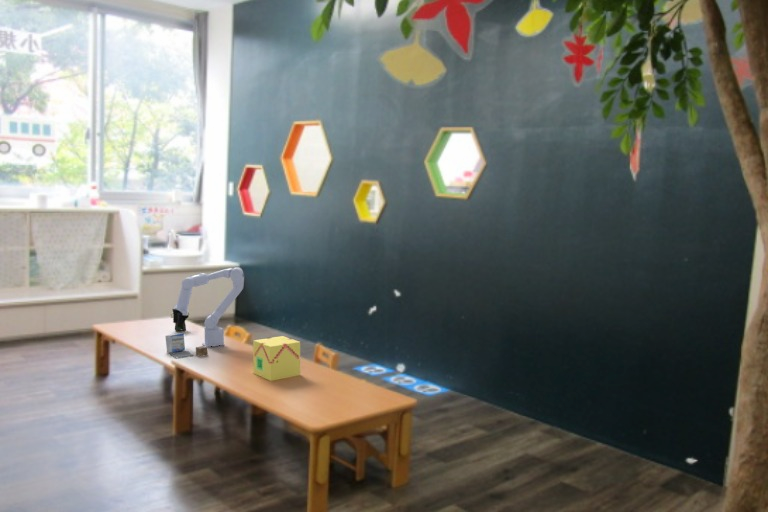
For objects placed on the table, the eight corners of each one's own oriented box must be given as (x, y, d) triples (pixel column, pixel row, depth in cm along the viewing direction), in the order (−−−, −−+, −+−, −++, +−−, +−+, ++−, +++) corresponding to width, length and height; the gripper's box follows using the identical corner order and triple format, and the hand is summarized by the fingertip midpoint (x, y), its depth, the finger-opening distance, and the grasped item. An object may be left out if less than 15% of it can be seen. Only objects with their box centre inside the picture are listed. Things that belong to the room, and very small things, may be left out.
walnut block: (203, 353, 321) (202, 345, 321) (207, 355, 319) (207, 347, 318) (196, 355, 319) (195, 347, 318) (200, 356, 316) (200, 348, 315)
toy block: (253, 373, 288) (253, 340, 286) (282, 367, 297) (282, 335, 296) (270, 381, 276) (270, 346, 275) (300, 375, 286) (300, 341, 285)
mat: (187, 351, 325) (187, 350, 325) (193, 356, 316) (193, 355, 316) (169, 353, 320) (169, 353, 320) (175, 358, 312) (175, 357, 312)
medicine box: (171, 353, 320) (170, 335, 320) (166, 352, 323) (165, 335, 322) (185, 350, 326) (183, 333, 326) (180, 349, 329) (178, 332, 329)
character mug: (173, 332, 368) (172, 310, 367) (169, 330, 374) (168, 308, 372) (191, 330, 375) (191, 308, 373) (187, 328, 380) (187, 306, 379)
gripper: (172, 295, 339) (166, 320, 340) (180, 302, 327) (173, 328, 328) (185, 297, 343) (179, 321, 344) (193, 304, 331) (186, 329, 332)
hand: (177, 325), depth 336 cm, fingers open, 7 cm apart
